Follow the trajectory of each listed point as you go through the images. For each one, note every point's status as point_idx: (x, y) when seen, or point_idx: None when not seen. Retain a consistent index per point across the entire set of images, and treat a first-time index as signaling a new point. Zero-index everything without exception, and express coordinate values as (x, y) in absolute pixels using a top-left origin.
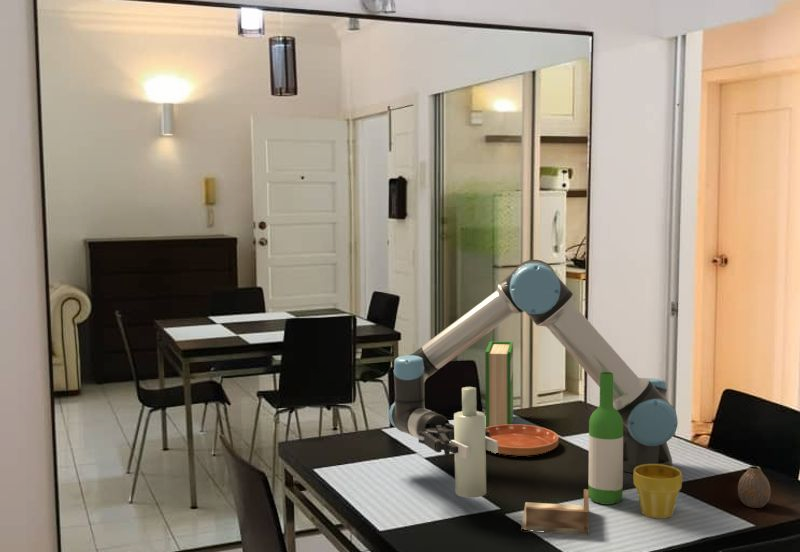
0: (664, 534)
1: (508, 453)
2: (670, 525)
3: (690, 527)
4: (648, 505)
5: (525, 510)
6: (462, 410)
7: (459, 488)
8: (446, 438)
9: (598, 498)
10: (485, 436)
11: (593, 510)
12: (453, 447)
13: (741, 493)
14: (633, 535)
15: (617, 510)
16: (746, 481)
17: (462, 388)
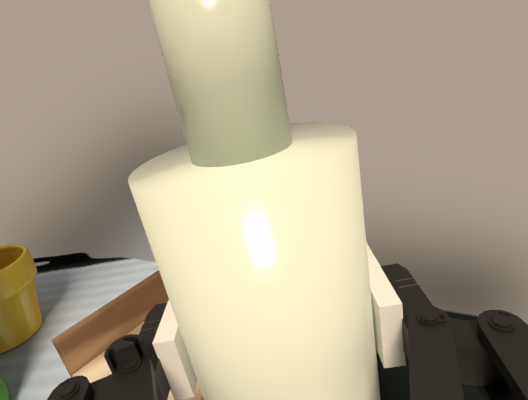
0: (103, 279)
1: None
2: (61, 297)
3: (54, 288)
4: (36, 305)
5: (201, 392)
6: (285, 107)
7: None
8: (422, 362)
9: (6, 395)
10: (170, 306)
11: (61, 380)
12: (401, 269)
13: None
14: (135, 284)
15: (33, 365)
16: None
17: None
